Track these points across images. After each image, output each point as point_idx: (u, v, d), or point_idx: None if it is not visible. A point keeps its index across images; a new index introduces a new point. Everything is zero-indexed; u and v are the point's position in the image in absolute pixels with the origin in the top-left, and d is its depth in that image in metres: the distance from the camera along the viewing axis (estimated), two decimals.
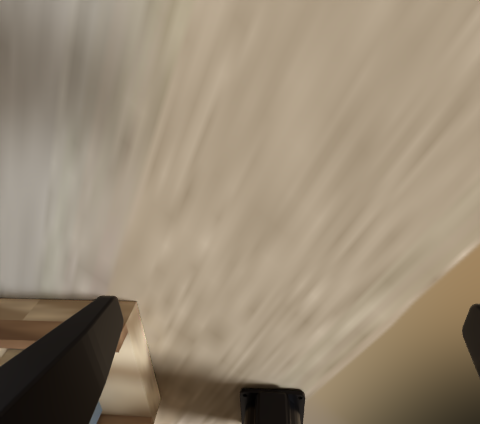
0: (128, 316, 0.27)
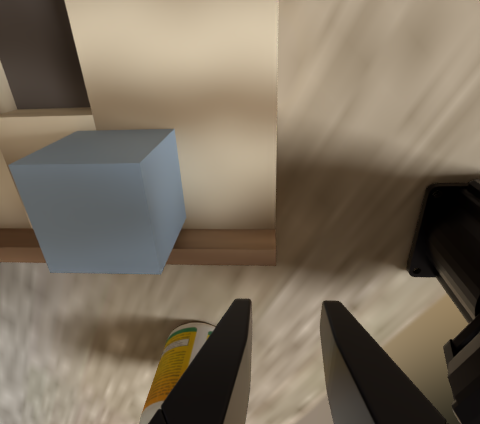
0: None
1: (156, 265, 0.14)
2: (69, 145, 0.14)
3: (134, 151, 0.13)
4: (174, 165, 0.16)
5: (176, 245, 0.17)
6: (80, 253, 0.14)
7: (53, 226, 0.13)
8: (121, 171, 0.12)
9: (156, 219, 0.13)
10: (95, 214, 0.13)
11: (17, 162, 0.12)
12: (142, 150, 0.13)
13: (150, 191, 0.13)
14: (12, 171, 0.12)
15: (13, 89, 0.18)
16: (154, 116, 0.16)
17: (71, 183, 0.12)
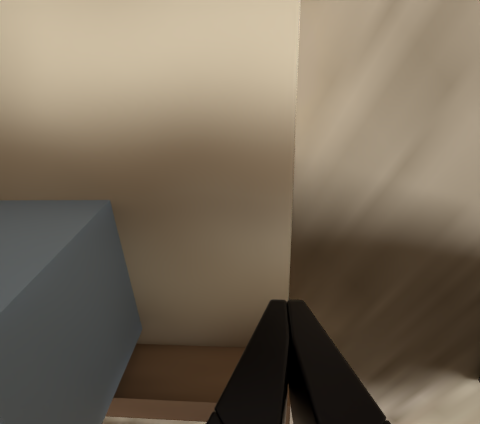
0: None
1: None
2: None
3: None
4: (109, 265, 0.09)
5: (120, 389, 0.10)
6: None
7: None
8: None
9: (46, 417, 0.06)
10: None
11: None
12: (7, 283, 0.06)
13: (17, 383, 0.06)
14: None
15: None
16: (71, 180, 0.09)
17: None
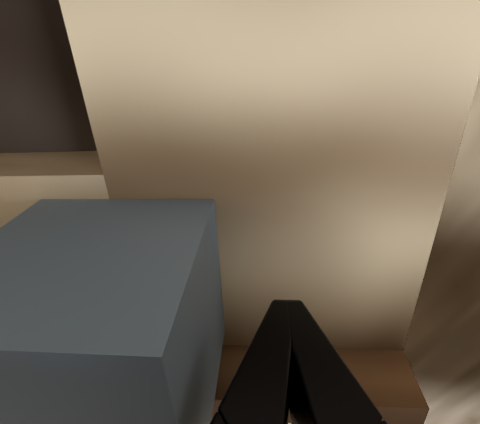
0: None
1: None
2: (11, 252, 0.07)
3: (146, 288, 0.06)
4: (214, 265, 0.09)
5: None
6: None
7: None
8: (116, 369, 0.05)
9: (191, 421, 0.06)
10: None
11: None
12: (163, 284, 0.06)
13: (181, 386, 0.06)
14: None
15: None
16: (216, 178, 0.09)
17: None
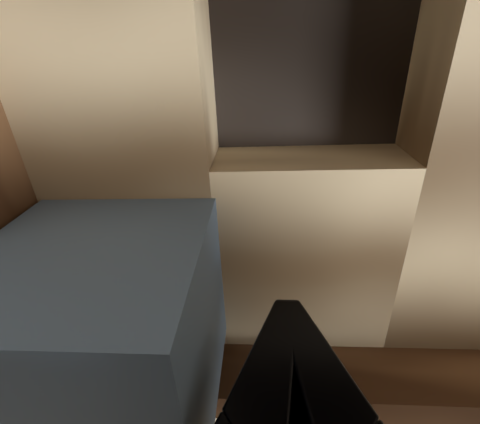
0: None
1: None
2: (14, 252, 0.07)
3: (151, 287, 0.06)
4: (216, 264, 0.09)
5: None
6: None
7: None
8: (123, 367, 0.05)
9: (197, 419, 0.06)
10: None
11: None
12: (168, 282, 0.06)
13: (187, 383, 0.06)
14: None
15: (222, 113, 0.10)
16: None
17: (0, 383, 0.05)
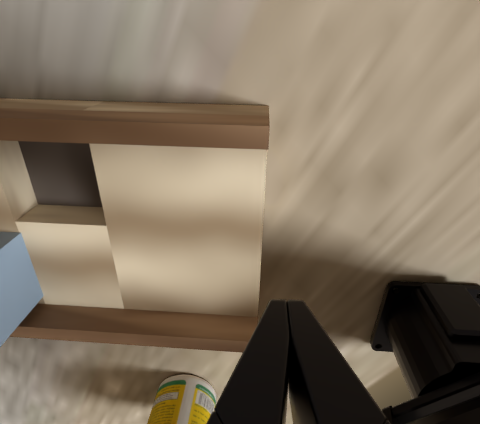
0: (267, 112, 0.16)
1: None
2: None
3: None
4: (19, 262, 0.20)
5: (172, 332, 0.20)
6: None
7: None
8: None
9: None
10: None
11: None
12: None
13: None
14: None
15: (36, 189, 0.21)
16: (159, 230, 0.19)
17: None
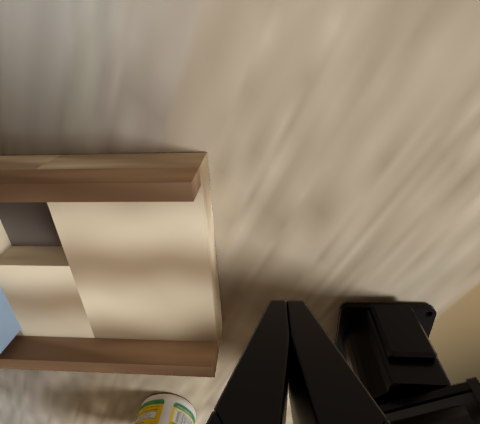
0: (200, 162, 0.18)
1: None
2: None
3: None
4: None
5: (136, 360, 0.22)
6: None
7: None
8: None
9: None
10: None
11: None
12: None
13: None
14: None
15: (8, 233, 0.23)
16: (116, 268, 0.20)
17: None
